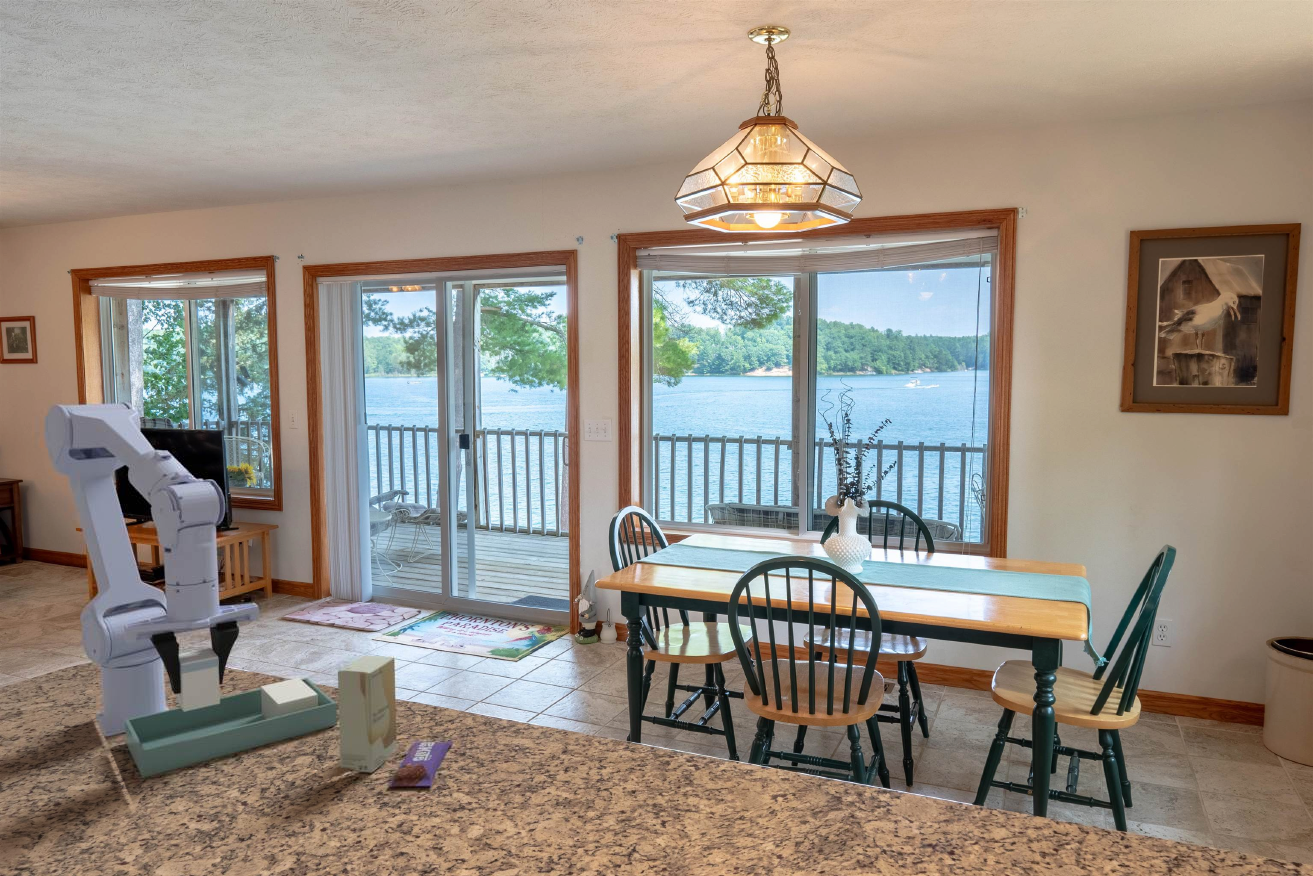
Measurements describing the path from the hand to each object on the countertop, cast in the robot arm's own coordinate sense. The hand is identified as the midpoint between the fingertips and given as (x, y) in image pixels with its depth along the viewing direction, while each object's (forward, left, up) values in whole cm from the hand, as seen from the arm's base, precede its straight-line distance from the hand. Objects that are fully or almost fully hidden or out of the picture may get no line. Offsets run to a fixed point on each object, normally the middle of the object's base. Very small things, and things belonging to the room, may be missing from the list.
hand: (197, 686), depth 105 cm
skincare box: (+16, +15, -9) cm, 24 cm away
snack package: (+22, +20, -9) cm, 31 cm away
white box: (-2, +11, -8) cm, 14 cm away
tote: (-2, +4, -8) cm, 9 cm away
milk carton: (0, 0, -2) cm, 2 cm away
